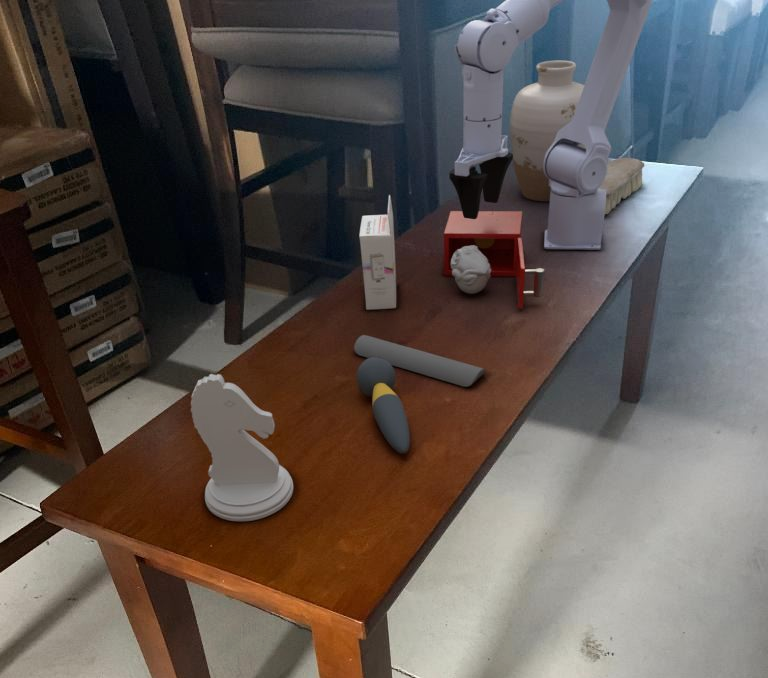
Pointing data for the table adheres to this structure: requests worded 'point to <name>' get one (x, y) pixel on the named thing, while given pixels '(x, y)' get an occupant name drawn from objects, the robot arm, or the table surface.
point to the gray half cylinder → (419, 361)
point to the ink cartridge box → (378, 260)
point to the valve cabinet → (485, 238)
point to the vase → (541, 123)
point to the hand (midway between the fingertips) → (480, 209)
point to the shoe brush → (621, 180)
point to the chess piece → (238, 453)
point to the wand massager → (385, 401)
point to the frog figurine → (470, 269)
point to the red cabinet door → (521, 275)
